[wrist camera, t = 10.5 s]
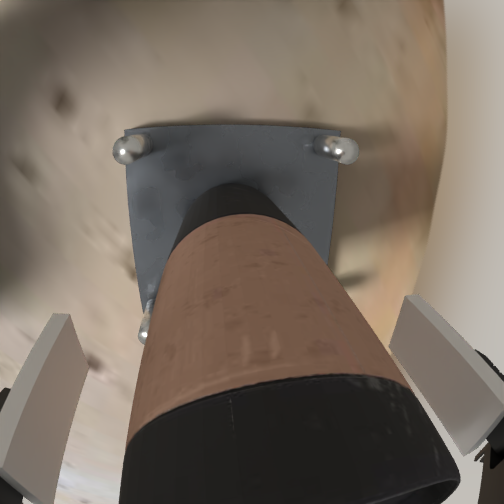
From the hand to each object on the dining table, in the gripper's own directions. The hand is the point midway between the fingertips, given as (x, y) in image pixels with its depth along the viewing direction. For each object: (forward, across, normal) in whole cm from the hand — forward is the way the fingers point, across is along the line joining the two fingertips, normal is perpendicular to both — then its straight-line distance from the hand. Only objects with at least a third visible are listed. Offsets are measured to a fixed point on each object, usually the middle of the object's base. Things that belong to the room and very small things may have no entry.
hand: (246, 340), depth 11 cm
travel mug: (+12, +1, 0) cm, 12 cm away
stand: (+14, +1, 0) cm, 14 cm away
